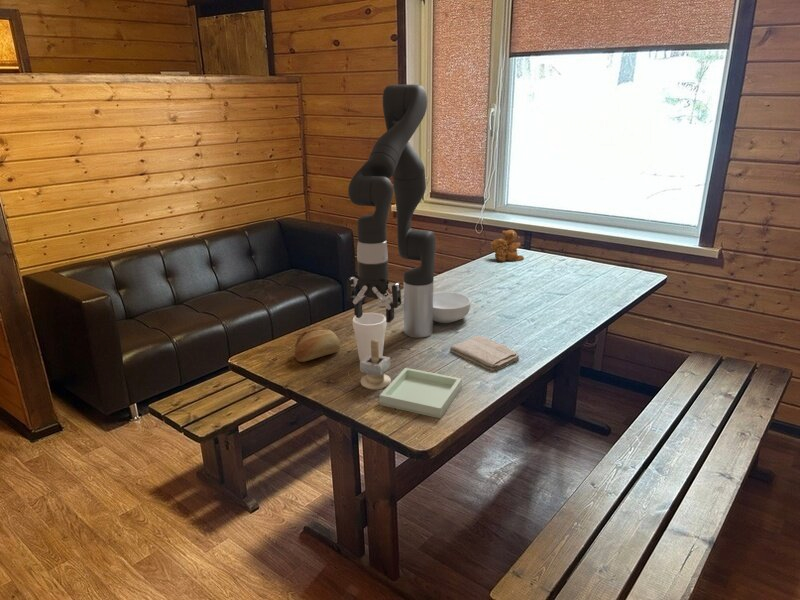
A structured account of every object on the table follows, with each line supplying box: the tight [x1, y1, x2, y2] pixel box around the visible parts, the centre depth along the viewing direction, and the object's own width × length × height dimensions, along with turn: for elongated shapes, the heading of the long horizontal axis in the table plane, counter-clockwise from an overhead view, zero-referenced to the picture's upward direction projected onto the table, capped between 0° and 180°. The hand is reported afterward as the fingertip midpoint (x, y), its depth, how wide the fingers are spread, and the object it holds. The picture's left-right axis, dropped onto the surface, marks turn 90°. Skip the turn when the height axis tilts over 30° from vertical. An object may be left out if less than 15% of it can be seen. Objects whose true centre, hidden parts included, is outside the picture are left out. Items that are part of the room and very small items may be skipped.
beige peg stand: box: [360, 340, 392, 391], centre depth 153 cm, size 8×8×12 cm
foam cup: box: [352, 312, 388, 363], centre depth 164 cm, size 10×9×13 cm
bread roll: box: [294, 326, 341, 363], centre depth 169 cm, size 10×15×8 cm, turn 134°
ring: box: [359, 354, 392, 376], centre depth 153 cm, size 6×6×2 cm
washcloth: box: [449, 334, 520, 372], centre depth 169 cm, size 12×18×3 cm, turn 41°
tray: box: [379, 367, 463, 419], centre depth 147 cm, size 16×16×3 cm
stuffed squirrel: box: [489, 229, 525, 263], centre depth 258 cm, size 10×14×13 cm
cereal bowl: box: [433, 291, 472, 324], centre depth 195 cm, size 17×17×7 cm
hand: (374, 319), depth 148 cm, fingers open, 8 cm apart
